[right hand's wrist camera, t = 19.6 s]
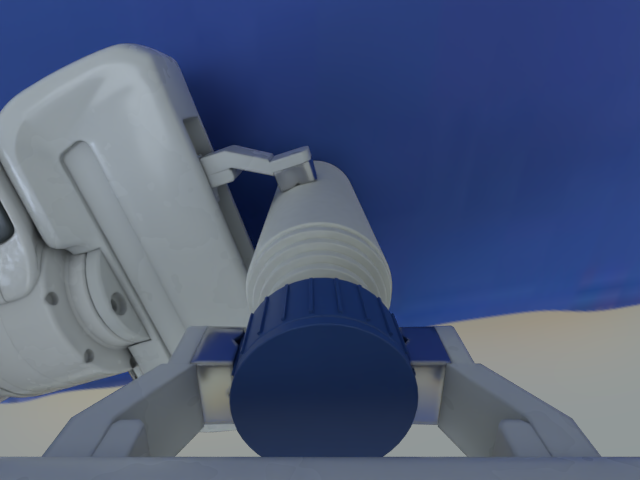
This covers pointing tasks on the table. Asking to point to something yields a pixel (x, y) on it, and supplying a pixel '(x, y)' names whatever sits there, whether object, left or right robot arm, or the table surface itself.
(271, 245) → the bottle
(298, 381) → the cap
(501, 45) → the table surface
